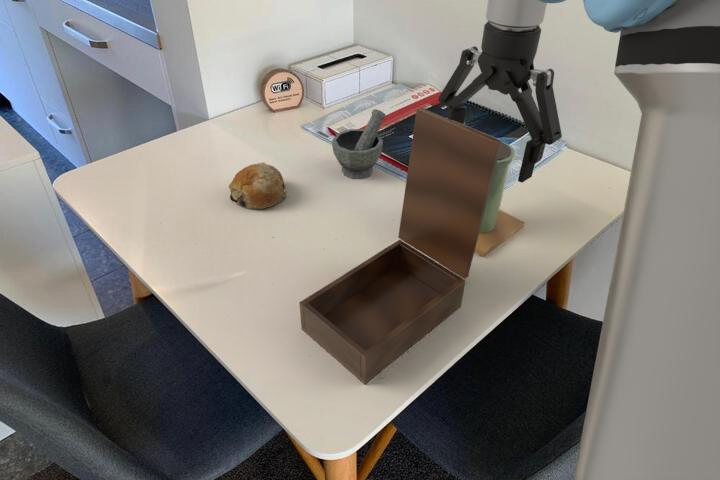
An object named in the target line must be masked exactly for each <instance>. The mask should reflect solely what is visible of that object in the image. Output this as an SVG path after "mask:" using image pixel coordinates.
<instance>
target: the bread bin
mask: <svg viewBox="0 0 720 480" xmlns="http://www.w3.org/2000/svg"><path fill="white" fill-rule="evenodd" d="M466 282H467V280H466V279H464V278H462V277H461V276H459V275H458V274H456V273H454V272H453V271H451V270H449V269H448V268H446V267H445V266H443V265H441V264H440V263H438V262H437V261H435V260H433V259H432V258H430V257H429V256H427V255H425V254H424V253H422V252H420V251H419V250H417V249H416V248H414V247H412V246H411V245H409V244H408V243H406V242H404V241H403V240H401V239H398V240H396V241H394V242H393V243H392V244H390V245H388V246H387V247H385V248H384V249H382V250H380V251H379V252H377V253H375V254H374V255H372V256H371V257H369V258H367V259H365V260H364V261H363V262H361V263H359V264H358V265H357V266H355V267H353V268H352V269H350V270H349V271H347V272H346V273H344V274H342V275H341V276H339V277H338V278H336V279H334V280H333V281H331V282H329V283H328V284H326V285H325V286H323V287H322V288H320V289H318V290H316V291H315V292H314V293H312V294H310V295H309V296H307V297H306V298H304V299H302V300H300V301H299V315H300V316H299V317H300V327H301V330H302V331H303V332H304V333H305V334H306V335H307V336H309V337H310V338H311V340H313V341H314V342H315V343H316V344H318V345H319V346H320V348H322V349H323V350H324V351H325V352H327V353H328V354H329V355H330V356H331V357H333V358H334V359H335V360H336V361H337V362H338V363H340V365H342V366H343V367H344V369H346V370H348V371H349V372H350V373H351V374H352V375H353V376H354V377H355V378H357V379H358V380H359V381H360V382H361V383H362V384H363V385H367V384H368V383H369V382H371V380H373V379H374V378H375V377H377V376H378V375H379V374H380V373H381V372H383V371H384V370H385V369H387V367H388V366H391V364H392V363H394V362H395V361H396V360H397V359H399V358H400V357H401V356H402V355H404V354H405V353H407V351H408V350H409V349H412V347H413V346H415V345H416V344H417V343H419V342H420V341H421V340H422V339H423V338H425V336H427V335H428V334H430V333H431V332H433V330H434V329H436V328H437V327H438V326H439V325H441V324H442V323H443V322H444V321H445V320H447V319H448V318H449V317H450V316H452V315H454V313H455V312H456V311H458V310H459V309H460V308H461V307H462V302H463V298H464V291H465V288H466V287H465V286H466Z"/></svg>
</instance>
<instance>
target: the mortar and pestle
mask: <svg viewBox="0 0 720 480" xmlns="http://www.w3.org/2000/svg"><path fill="white" fill-rule="evenodd" d="M386 117H387V114H386V113H384V112H383V111H381V110H380V109H377V108H374V109H372V111H371V115H370V118H369V119H368V121H367V124H366V126H365V128H359V129H358V128H350V129H346V130H343V131H339V132H337V133H336V134H335V136H334V137H333V138H332V140H331V141H332V142H331V147H332V152H333V154H334V156H335V158H336V160H337V162H338V163H339V165H340V167H341V172H342V174H343V176H344V177H346V178H349V179H351V180H364V179H366V178H368V177H371V176H372V173H373V172H374V169H373V168H374V166H375V165H376V163H377V162H378V160H379V158H380V157H381V155H382V152H383V148H384V140H383V138H381V136H380V135H379V132H380V131H379V130H380V129H381V125H382V123H383V120H385V119H386Z"/></svg>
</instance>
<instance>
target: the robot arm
mask: <svg viewBox="0 0 720 480" xmlns="http://www.w3.org/2000/svg"><path fill="white" fill-rule="evenodd" d="M565 1H566V0H487V5H486V13H485V19H486V20H487V22H486V23H485V24H484V25H483V31H482V39H481V45H480V48H481V51H479V49H478V47H477V46H475V45H474V46H471V47H469V48H466V49H463V50H462V51H461V55H460V58H459V62H458V65H457V66H456V68H455V70H454V72H453V73H452V74H451V76H450V78H449V79H448V81H447V83H446V84H445V86H444V88H443V90H442V91H441V93H440V95H439V96H438V102H439V103H440V104H444V105H445V106H446V109H447V115H446V118H447V119H450V120H454V121H457V122H459V123H461V124H464V123H465V116H466V109H467V108H465V107H463V106H464V104H465V103H466V102H468V101H469V100H470V99H471V98H473V96H475V95H476V94H478V93H479V91H481V90H482V89H483V88H484V87H488V90H491V91H498V92H499V93H500V94H503V95H505V96H507V95H509V97H510V98H511V101H512V102H514V103H515V105H516V107H517V109H518V111H519V113H520V116H521V118H522V120H523V122H524V125H525V127H526V129H527V131H528V134H529V136H530V138H531V139H530V140H528V141H526V143H525V148H524V152H523V157H522V161H521V165H520V169H519V173H518V178H517V182H519V183H524V182H525V181H528V180H529V179H530V178H531V177H533V173H534V169H535V165H536V164H538V163H539V162H541V160H542V159H543V157H544V152H545V148H546V145H549V146H551V145H553V144H555V143H556V142H557V141H559V140H561V139H562V137H563V135H562V129H561V123H560V118H559V113H558V108H557V102H556V97H555V92H554V79H555V71H554V70H553V69H552V68H547V69H545V70H544V69H537V68H535V66H534V62H535V61H534V60H535V58H536V55H537V52H538V47H539V43H540V38H541V33H542V28H541V26H540V25H541V24H543V22H544V19H545V15H546V12H547V11H546V10H547V5H548V4H560V3H563V2H565ZM582 2H583V8H584V12H585V13H586V15H587V17H588V19H589V20H590V21H591V22H592V23H594V24H595V25H597V26H600V27H602V28H603V29H604V30H605V31H607V32H610V33H615V34H617V33H619V32H620V33H619V40H618V46H617V51H616V57H615V64H614V72H613V74H614V76H615V77H616V78H617V79H618V81H619V82H620V83H621V84H622V85H623V86H624V88H625V89H626V91H627V92H628V93H629V94H630V95H631V97H632V98H633V99H634V101H636V103H637V105H638V108H639V110H640V112H641V116H640V121H639V126H638V132H637V137H636V142H635V147H634V152H633V153H634V154H633V158H632V164H631V169H630V174H629V181H628V186H627V191H626V196H625V202H624V206H623V212H622V218H621V224H620V229H619V232H618V233H619V234H618V239H617V244H616V251H615V256H614V261H613V266H612V271H611V277H610V283H609V287H608V293H607V298H606V303H605V308H604V314H603V320H602V324H601V330H600V336H599V341H598V345H597V351H596V357H595V362H594V367H593V373H592V378H591V383H590V388H589V394H588V400H587V406H586V411H585V417H584V421H583V427H582V431H581V436H580V437H581V438H580V441H579V442H580V443H579V448H578V453H577V458H576V464H575V469H574V474H573V479H572V480H720V0H582ZM475 65H478V67H479V70H480V74H478V75H477V76H476V77H475V78H474V79H473V80H472V81H471V83H469V84H468V85H467V86H465V88H464V89H462V90H461V92H459V90H460V89H461V86H463V84H464V82H465V80H466V79H467V77H468V76H469V75H470V73H471V71H472V69H474V66H475ZM530 80H532V86H533V87H535V89H534V90H535V98H536V101H535V99H534V96H533V89H532V87H531V85H530V82H529V81H530ZM519 90H520V91H521V92H520V91H519ZM458 92H459V93H458ZM457 93H458V94H457ZM464 125H465V124H464Z"/></svg>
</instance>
